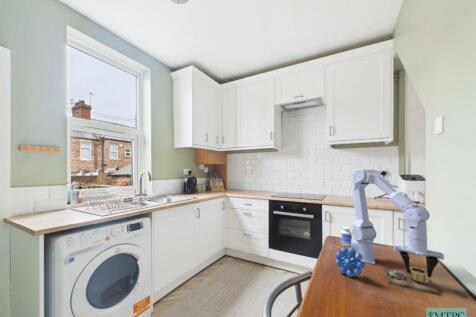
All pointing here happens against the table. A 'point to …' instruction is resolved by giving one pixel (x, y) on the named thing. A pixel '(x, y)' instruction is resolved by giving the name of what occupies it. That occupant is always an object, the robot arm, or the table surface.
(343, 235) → the pill bottle
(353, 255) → the grapes
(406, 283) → the gear board
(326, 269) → the table surface
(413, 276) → the gear
